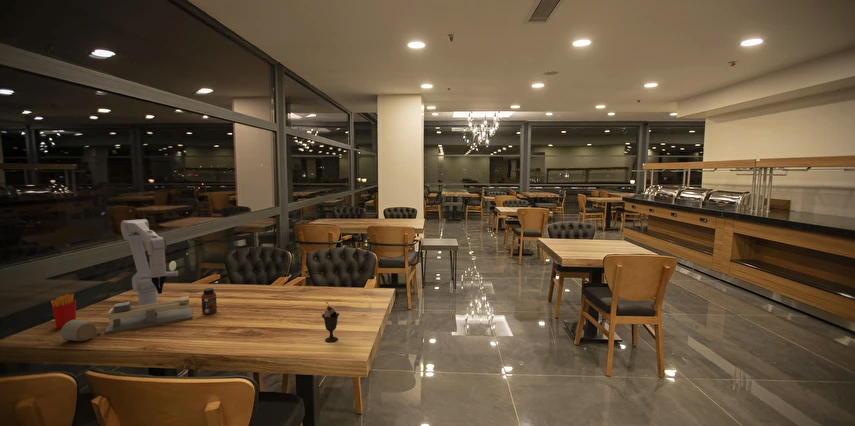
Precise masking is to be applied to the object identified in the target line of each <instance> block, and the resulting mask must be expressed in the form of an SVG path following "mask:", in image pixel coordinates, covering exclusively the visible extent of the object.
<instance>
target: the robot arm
mask: <svg viewBox="0 0 855 426" xmlns="http://www.w3.org/2000/svg"><path fill="white" fill-rule="evenodd" d="M149 225H150V224H149V221H148V219H147V218H143V219H130V220H129V219H128V220H125V219H124V220H122V221H121V223H120V231H121V235H122V237H123V240H126V241H127V242H128V243H129V247H130V250H131V254H132V257H133V260H134V265H135V268H136V269H135V270H136V271H137V272H136V273H134V275H132V278H131V282H132V283H131V286H132V289H133V291H134V292H136V293H137V300H138V301H137V302H138V306H141V305H147V304H153V303H158V295H162V294H163V289H164V288H163V287H164V284H165V282H166V280H167V277H168V278H169V277H178V276H179V271H178V270H174V271H170V270H169V271H167V265H166V253H165V252H166V249H167V246H168V243H167V239H166V237H165V236H159V235H158V234H157V233H156V232H155V231H154V230H153V229H150V226H149ZM143 242H144V244H145V247H146V250H147V255H148V257H149V263H148V258H147V255H146V251H145V248H144V244H143Z"/></svg>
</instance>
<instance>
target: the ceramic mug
mask: <svg viewBox="0 0 855 426" xmlns="http://www.w3.org/2000/svg"><path fill="white" fill-rule="evenodd" d="M60 329H61V330H60V336H61V338H62V339H64V340H66V341H73V342H74V341H75V342H87V341H88V340H90V339H92V338H93V337H94V335H100V333H101V332H102V329H98V328H97V327H96V325H95V324H94V323H92V322H90V321H85V320H80V319H76V320H71V321H69V322H67V323H66V324H65V325H64V326H63V327H62V328H60Z"/></svg>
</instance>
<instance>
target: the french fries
mask: <svg viewBox="0 0 855 426" xmlns="http://www.w3.org/2000/svg"><path fill="white" fill-rule="evenodd" d="M74 295H75V293H72V294H71V293H70V294H68V293H66V294H65V295H63V296H62V295H61V296H59V297H56V298H55V299H52V300H51V301H50V303H51V305H52V306H51V307H52V308H51V309H52V312H53V317H54V322H55V327H56V329H62V327H63V326H64V325H65V324H66V323H67V322H69V321H71V320H77V300H76V299H74Z"/></svg>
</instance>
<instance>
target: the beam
mask: <svg viewBox="0 0 855 426" xmlns="http://www.w3.org/2000/svg"><path fill="white" fill-rule="evenodd" d="M186 308H190V295H184V296H179V299H174V300H168V301H161V302H157V303H154V304H147V305H141V306H139V305H136V306H135V305H134V306H131V311H128V312H121V313H115V314H114V307H110V310H109V312H108V321H111V320H115V319H124V318H130V317H136V316H142V315H146V310H150V309H155V313H161V312H168V311H174V310H180V309H186Z"/></svg>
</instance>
